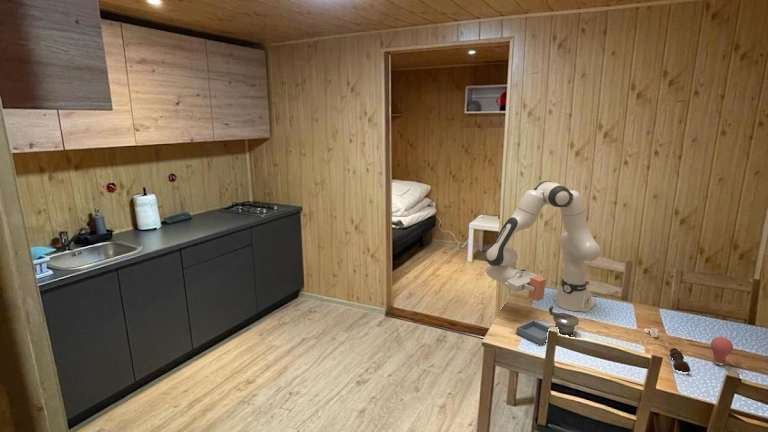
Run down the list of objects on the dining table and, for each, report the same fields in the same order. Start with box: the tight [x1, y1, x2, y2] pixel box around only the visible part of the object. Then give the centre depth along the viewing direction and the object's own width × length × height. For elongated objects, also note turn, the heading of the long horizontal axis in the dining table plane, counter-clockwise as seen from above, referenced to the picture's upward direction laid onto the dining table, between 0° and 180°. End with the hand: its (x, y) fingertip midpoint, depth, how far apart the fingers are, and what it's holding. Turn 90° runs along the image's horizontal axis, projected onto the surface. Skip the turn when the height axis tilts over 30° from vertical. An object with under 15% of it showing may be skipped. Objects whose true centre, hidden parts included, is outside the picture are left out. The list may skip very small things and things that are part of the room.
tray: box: [515, 319, 551, 346], centre depth 190 cm, size 13×13×4 cm
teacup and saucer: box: [643, 327, 660, 338], centre depth 192 cm, size 9×8×4 cm
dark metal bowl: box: [548, 305, 580, 337], centre depth 194 cm, size 13×11×11 cm
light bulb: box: [710, 336, 734, 363], centre depth 170 cm, size 7×7×12 cm
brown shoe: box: [669, 347, 691, 374], centre depth 170 cm, size 6×5×15 cm
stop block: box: [527, 275, 546, 302], centre depth 198 cm, size 5×5×10 cm
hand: (538, 287), depth 197 cm, fingers closed on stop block, 5 cm apart
